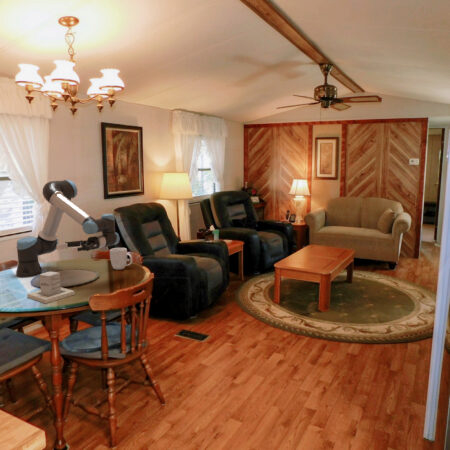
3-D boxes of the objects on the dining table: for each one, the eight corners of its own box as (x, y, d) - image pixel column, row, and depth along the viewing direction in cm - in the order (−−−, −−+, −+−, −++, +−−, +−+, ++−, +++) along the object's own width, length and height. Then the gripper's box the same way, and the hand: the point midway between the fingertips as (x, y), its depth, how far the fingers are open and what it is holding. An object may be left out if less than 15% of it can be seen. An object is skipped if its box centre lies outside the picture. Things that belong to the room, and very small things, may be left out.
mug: (135, 266, 286) (134, 248, 284) (129, 271, 275) (128, 251, 273) (114, 266, 288) (113, 247, 286) (107, 270, 277) (106, 250, 275)
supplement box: (40, 297, 225) (38, 274, 223) (51, 293, 232) (50, 270, 230) (50, 299, 222) (49, 275, 220) (61, 294, 229) (60, 272, 226)
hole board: (27, 297, 225) (27, 293, 224) (56, 289, 239) (55, 285, 238) (45, 303, 215) (45, 299, 215) (74, 294, 229) (74, 291, 229)
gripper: (110, 251, 242) (78, 258, 224) (83, 245, 256) (51, 252, 238) (109, 238, 240) (78, 245, 223) (82, 233, 254) (50, 239, 237)
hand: (64, 248), depth 231 cm, fingers open, 13 cm apart
